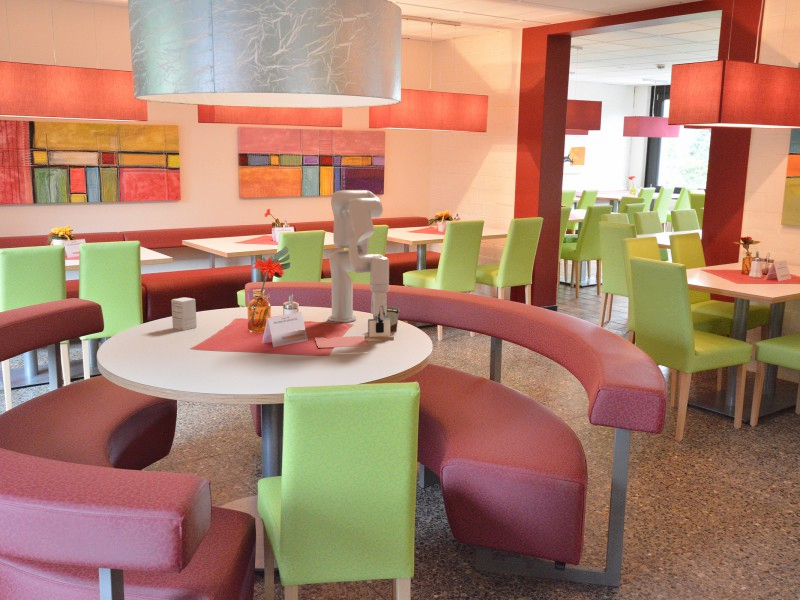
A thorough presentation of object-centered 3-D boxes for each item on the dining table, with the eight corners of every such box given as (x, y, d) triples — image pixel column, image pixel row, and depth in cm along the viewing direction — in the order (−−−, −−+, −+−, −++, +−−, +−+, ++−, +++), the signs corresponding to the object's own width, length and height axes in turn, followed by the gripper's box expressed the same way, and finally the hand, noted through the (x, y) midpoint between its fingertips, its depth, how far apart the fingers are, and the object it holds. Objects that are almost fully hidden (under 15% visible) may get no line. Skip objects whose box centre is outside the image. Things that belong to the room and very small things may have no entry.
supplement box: (186, 325, 336) (184, 296, 334) (197, 327, 332) (196, 298, 329) (172, 328, 330) (170, 299, 328) (183, 330, 326) (182, 301, 323)
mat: (314, 339, 314) (314, 337, 313) (362, 337, 318) (362, 336, 317) (318, 348, 298) (318, 347, 298) (369, 346, 302) (369, 345, 302)
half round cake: (401, 329, 333) (401, 306, 331) (400, 332, 327) (400, 309, 325) (373, 328, 334) (373, 305, 332) (371, 331, 328) (371, 308, 326)
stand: (364, 338, 316) (364, 334, 316) (390, 337, 318) (391, 333, 318) (367, 341, 310) (367, 338, 309) (393, 340, 312) (394, 337, 312)
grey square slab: (368, 338, 314) (368, 319, 312) (389, 337, 316) (389, 318, 314) (368, 339, 312) (368, 320, 311) (390, 338, 314) (390, 319, 312)
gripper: (367, 284, 317) (367, 327, 320) (373, 291, 302) (373, 336, 305) (385, 284, 318) (384, 327, 322) (392, 290, 303) (392, 336, 307)
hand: (379, 331), depth 313 cm, fingers closed on grey square slab, 1 cm apart
